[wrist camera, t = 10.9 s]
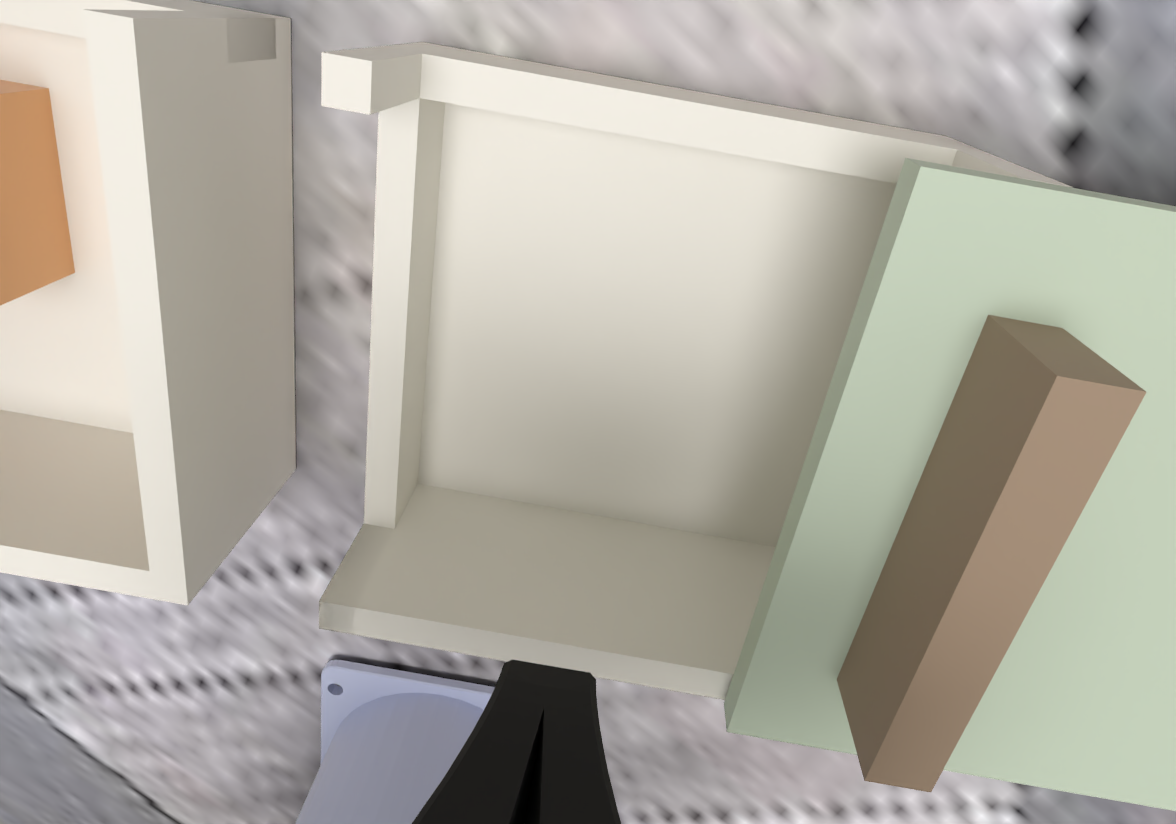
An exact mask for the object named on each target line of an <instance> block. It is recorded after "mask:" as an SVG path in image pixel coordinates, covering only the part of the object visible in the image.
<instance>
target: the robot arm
mask: <svg viewBox="0 0 1176 824" xmlns="http://www.w3.org/2000/svg"><path fill="white" fill-rule="evenodd" d="M335 684H338V685H340V686H338V685H335ZM295 824H621V822H620V818H619V814H618V811H617V807H616V802H615V798H614V794H613V790H612V786H611V782H610V778H609V774H608V769H607V764H606V760H605V755H604V749H603V744H602V738H601V732H600V726H599V718H598V710H597V699H596V679H595V678H594V677H593V675H592V674H591V673H590V672H584V671H578V670H572V669H566V668H560V667H554V666H548V665H542V664H536V663H530V662H525V661H519V660H513V659H512V660H510V661H508V662H506V663H504V666H503V668H502V671H501V674H500V677H499V679H498V682H497V684H496V686H495V687H492V686H486V685H480V684H475V683H469V682H463V681H458V680H452V679H446V678H441V677H435V676H429V675H424V674H418V673H412V672H407V671H401V670H395V669H390V668H384V667H378V666H372V665H367V664H361V663H355V662H350V661H344V660H331V661H329V662H328V663H326V665H325V667H324V669H323V671H322V674H321V766H320V768H319V771H318V773H317V775H316V777H315V780H314V782H313V784H312V786H311V788H310V791H309V793H308V795H307V797H306V800H305V802H304V804H303V806H302V809H301V811H300V813H299V815H298V818H297V820H296V822H295Z"/></svg>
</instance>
